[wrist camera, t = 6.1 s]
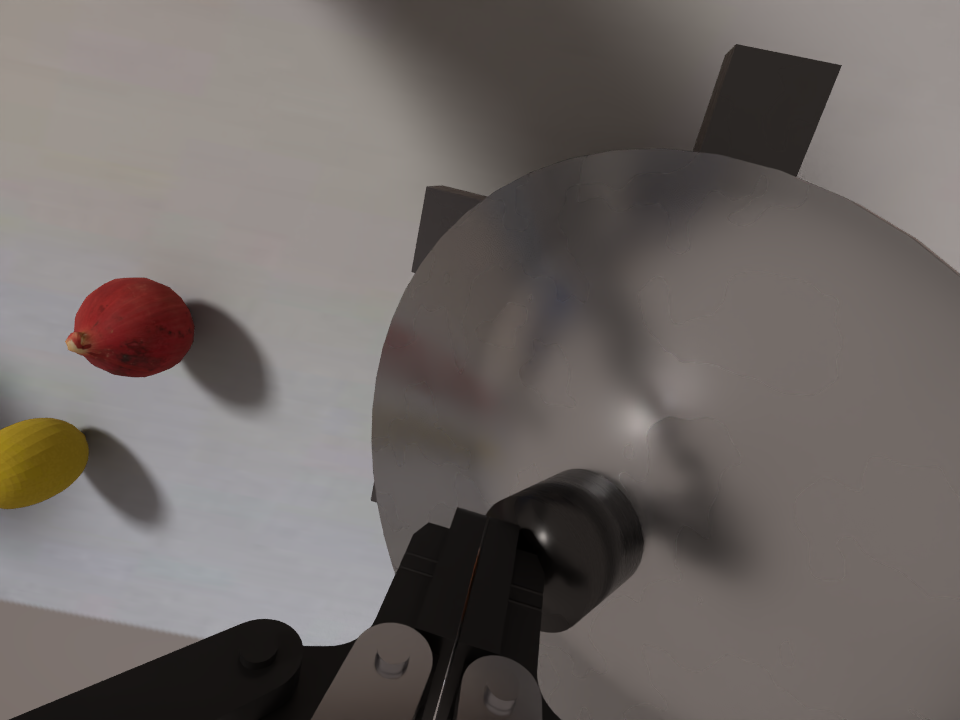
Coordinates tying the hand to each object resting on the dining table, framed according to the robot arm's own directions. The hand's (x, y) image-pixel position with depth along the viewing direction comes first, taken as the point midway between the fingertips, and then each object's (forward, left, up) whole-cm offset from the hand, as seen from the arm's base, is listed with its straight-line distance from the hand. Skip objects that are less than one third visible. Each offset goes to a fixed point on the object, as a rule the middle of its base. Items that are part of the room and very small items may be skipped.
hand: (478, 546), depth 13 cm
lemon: (+18, -31, -20) cm, 41 cm away
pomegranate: (+6, -23, -20) cm, 32 cm away
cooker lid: (0, +3, -3) cm, 5 cm away
